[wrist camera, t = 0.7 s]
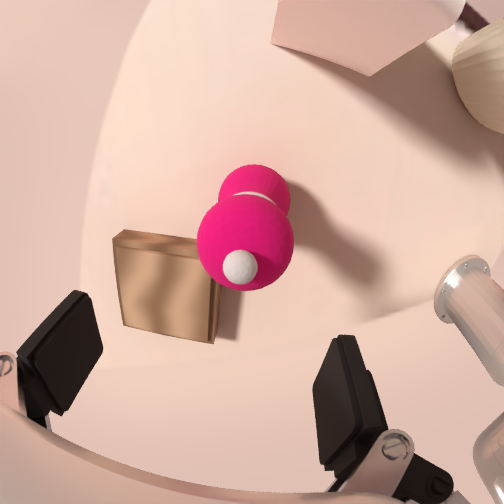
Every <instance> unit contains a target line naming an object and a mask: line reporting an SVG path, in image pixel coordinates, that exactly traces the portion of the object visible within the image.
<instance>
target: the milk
mask: <svg viewBox="0 0 504 504" xmlns="http://www.w3.org/2000/svg"><path fill="white" fill-rule="evenodd" d="M465 2H466V0H279V2H278V7H277V12H276V17H275V22H274V27H273V33H272V38H271V43H270V44H274V45H278V46H282V47H286V48H290V49H293V50H297V51H300V52H304V53H307V54H310V55H313V56H316V57H319V58H322V59H325V60H328V61H331V62H334V63H336V64H339V65H342V66H344V67H347V68H349V69H352V70H354V71H356V72H359V73H361V74H364V75H366V76H368V77H370V76H372V75H373V74H375V73H376V72H378V71H379V70H381V69H382V68H384V67H385V66H387V65H388V64H390V63H391V62H393V61H394V60H396V59H397V58H399V57H401V56H402V55H404V54H405V53H407V52H409V51H410V50H412V49H414V48H415V47H417V46H418V45H420V44H422V43H423V42H425V41H427V40H429V39H430V38H432V37H434V36H436V35H437V34H439V33H441V32H443V31H444V30H446V29H448V28H449V27H451V26H452V25H453V24H454V23H455V22H456V21H457V19H458V18H459V16H460V14H461V12H462V10H463V7H464V5H465Z"/></svg>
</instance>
